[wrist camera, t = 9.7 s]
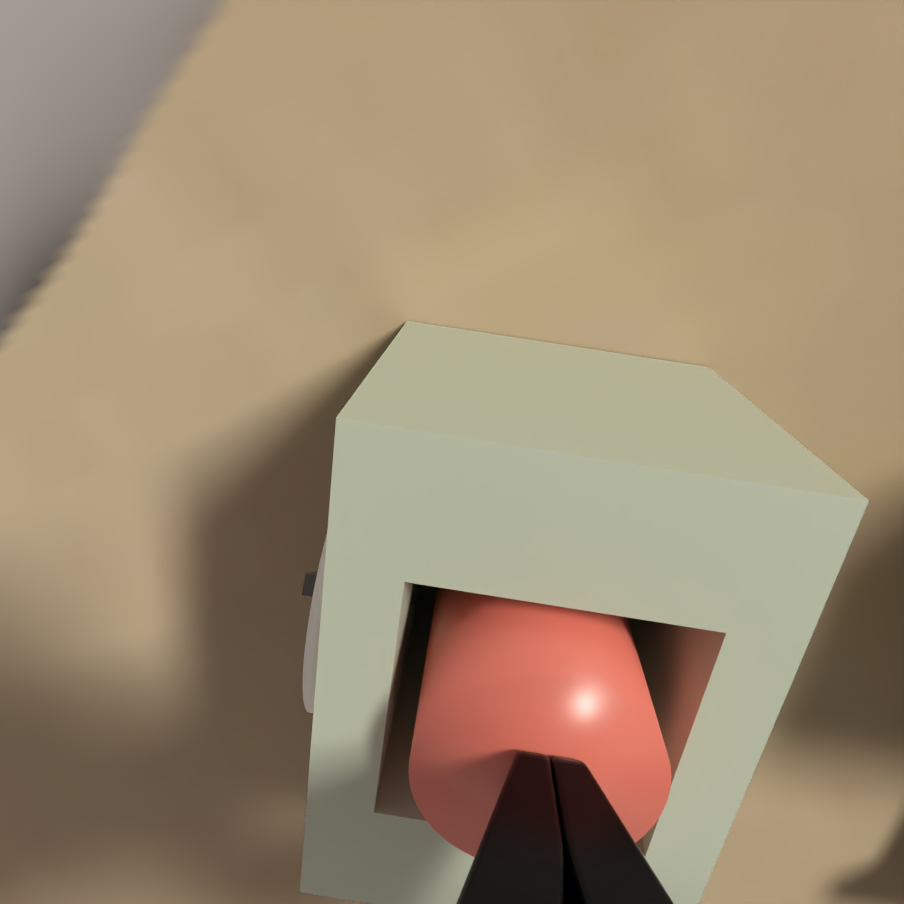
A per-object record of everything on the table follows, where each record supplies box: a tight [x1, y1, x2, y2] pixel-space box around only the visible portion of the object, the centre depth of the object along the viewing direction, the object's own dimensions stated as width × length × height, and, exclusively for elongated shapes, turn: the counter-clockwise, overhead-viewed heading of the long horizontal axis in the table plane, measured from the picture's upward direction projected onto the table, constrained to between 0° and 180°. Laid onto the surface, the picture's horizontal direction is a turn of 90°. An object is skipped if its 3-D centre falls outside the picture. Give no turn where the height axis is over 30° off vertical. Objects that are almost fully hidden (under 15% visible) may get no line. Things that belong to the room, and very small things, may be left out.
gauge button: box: [408, 587, 671, 857], centre depth 10 cm, size 3×3×4 cm
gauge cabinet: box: [300, 321, 869, 904], centre depth 12 cm, size 8×6×6 cm
